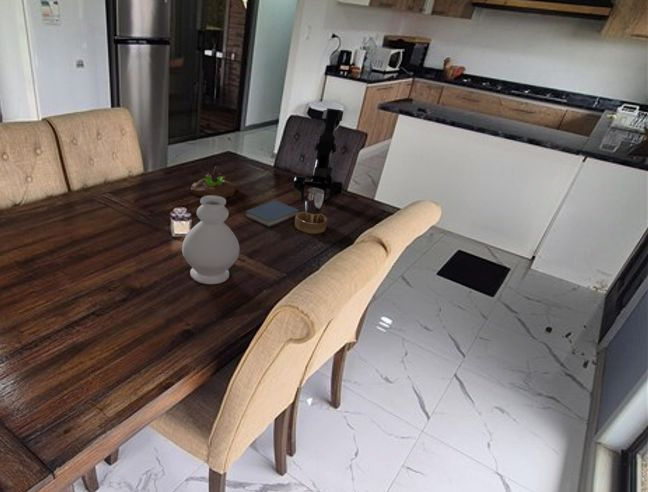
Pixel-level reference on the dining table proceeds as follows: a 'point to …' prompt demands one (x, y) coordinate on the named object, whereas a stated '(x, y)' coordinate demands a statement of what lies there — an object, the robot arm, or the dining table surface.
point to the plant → (214, 186)
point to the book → (271, 213)
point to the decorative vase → (211, 243)
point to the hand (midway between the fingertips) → (314, 204)
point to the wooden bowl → (310, 224)
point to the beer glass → (313, 204)
